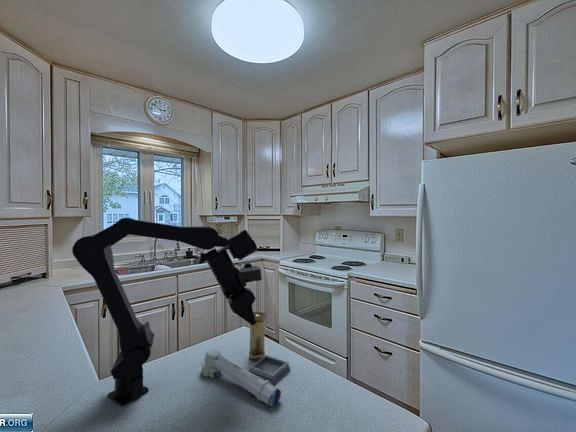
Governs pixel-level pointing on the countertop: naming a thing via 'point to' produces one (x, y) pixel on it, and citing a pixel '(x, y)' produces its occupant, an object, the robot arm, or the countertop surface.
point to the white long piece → (240, 377)
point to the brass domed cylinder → (257, 337)
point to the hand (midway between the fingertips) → (250, 318)
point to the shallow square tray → (270, 369)
